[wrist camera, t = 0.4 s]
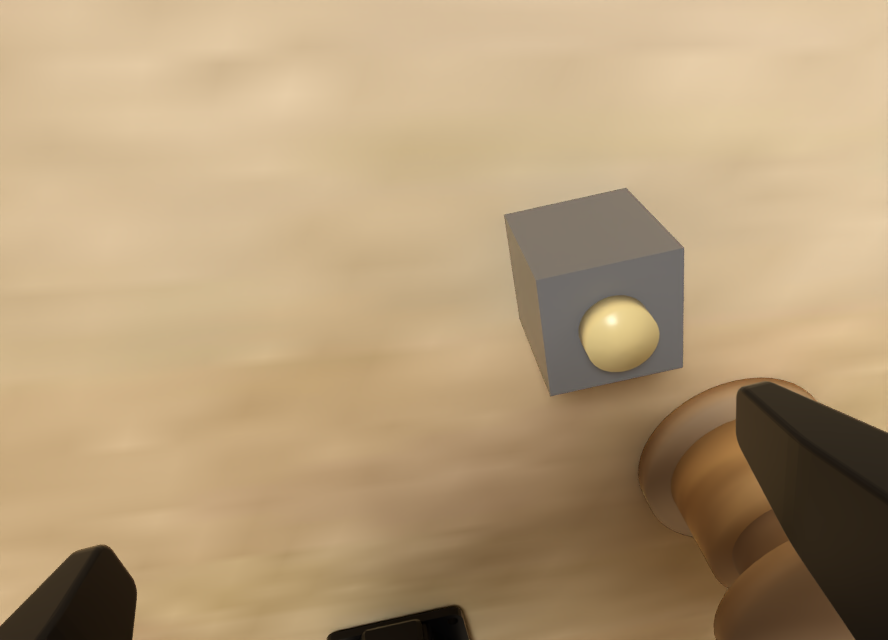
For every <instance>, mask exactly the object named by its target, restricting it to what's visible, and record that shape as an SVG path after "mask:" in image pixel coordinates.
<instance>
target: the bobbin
mask: <svg viewBox="0 0 888 640" xmlns="http://www.w3.org/2000/svg"><path fill="white" fill-rule="evenodd" d="M762 381H770V382H773V383H776V384H778V385H780V386H782V387H785V388H787V389H789V390H792V391H794V392H796V393H798V394H801V395H803V396H805V397H807V398H810V399H812V400H814V401H816V400H815V399H814V398H813V397H812V395H811V394H809V393H808V392H807V391H806V390H804V389H803V388H801V387H799V386H797V385H795V384H793V383H790V382H787V381H784V380H779V379H773V378H750V379H743V380H737V381H733V382H729V383H725V384H722V385H719V386H716V387H714V388H711V389H709V390H707V391H704V392H702V393H700V394H698V395H696V396H695V397H693V398H691V399H690V400H688V401H686V402H685V403H683V404H682V405H681V406H679V407H678V408H677V409H675V410H674V411H673V412H672V413H671V414H670V415H668V416H667V417H666V418H665V419H664V420H663V421H662V422H661V424H660V425H659V426H658V427H657V428H656V429H655V431H654V432H653V433H652V435H651V436H650V438H649V440H648V441H647V443H646V445H645V447H644V449H643V452H642V455H641V458H640V462H639V470H638V477H639V484H640V486H641V489H642V492H643V494H644V496H645V498H646V500H647V502H648V504H649V506H650V508H651V510H652V512H653V513H654V515H655V516H656V518H657V519H658V520H659V521H660V522H661V523H662V524H664V525H665V526H666V527H668V528H669V529H671V530H673V531H675V532H678V533H680V534H683V535H687V536H691V537H694V539H695V540H696V542H697V544H698V546H699V548H700V550H701V551H702V553H703V555H704V557H705V559H706V561H707V562H708V564H709V566H710V568H711V570H712V572H713V574H714V575H715V577H716V578H717V580H718V581H719V582H720V583H721V584H723V585H724V586H726V587H727V588H729V589H728V591H727V592H726V593H725V595H724V597H723V598H722V600H721V602H720V604H719V606H718V609H717V612H716V614H715V620H714V634H715V638H716V640H855V639H854V637H853V636H852V634H851V633H850V631H849V630H848V628H847V627H846V625H845V624H844V622H843V621H842V619H841V618H840V616H839V615H838V613H837V612H836V610H835V609H834V608H833V606H832V605H831V603H830V602H829V600H828V599H827V597H826V596H825V594H824V593H823V591H822V590H821V588H820V587H819V585H818V584H817V582H816V581H815V579H814V578H813V576H812V575H811V574H810V572H809V571H808V569H807V568H806V566H805V565H804V563H803V562H802V560H801V559H800V557H799V556H798V554H797V552H796V551H795V549H794V548H793V546H792V545H791V543H790V541H789V539H788V538H787V536H786V534H785V532H784V530H783V529H782V527H781V525H780V523H779V521H778V519H777V517H776V515H775V514H774V512H773V510H772V508H771V506H770V504H769V502H768V500H767V498H766V496H765V495H764V493H763V491H762V489H761V487H760V485H759V483H758V481H757V479H756V477H755V476H754V474H753V472H752V470H751V468H750V466H749V464H748V462H747V460H746V458H745V457H744V455H743V453H742V451H741V449H740V447H739V444H738V441H737V437H736V395H737V391H738V390H739V388H741V387H743V386H746V385H750V384H754V383H758V382H762Z"/></svg>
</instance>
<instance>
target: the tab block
mask: <svg viewBox="0 0 888 640" xmlns="http://www.w3.org/2000/svg"><path fill="white" fill-rule="evenodd" d="M504 217H505V224H506V231H507V238H508V244H509V251H510V258H511V265H512V271H513V278H514V285H515V292H516V299H517V305H518V312H519V318H520V321H521V324H522V326H523V329H524V331H525V334H526V336H527V339H528V341H529V344H530V346H531V349H532V351H533V354H534V356H535V359H536V361H537V364H538V366H539V369H540V371H541V374H542V376H543V379H544V381H545V384H546V386H547V389H548V391H549V394H550V396H554V395H559V394H563V393H568V392H573V391H577V390H582V389H586V388H591V387H595V386H600V385H605V384H609V383H614V382H618V381H623V380H627V379H632V378H637V377H641V376H646V375H650V374H655V373H660V372H664V371H669V370H673V369H678V368H682V367H683V302H684V247H683V246H682V245H681V244H680V243H679V242H678V241H677V240H676V239H675V238H674V237H673V236H672V235H671V234H670V233H669V232H668V231H667V230H666V229H665V228H664V227H663V226H662V225H661V223H660V222H659V221H658V220H657V219H656V218H655V217H654V216H653V215H652V214H651V213H650V212H649V211H648V210H647V209H646V208H645V207H644V206H643V205H642V204H641V203H640V202H639V201H638V200H637V199H636V198H635V197H634V196H633V195H632V194H631V192H630V191H629V190H628V189H627V188H624V189H619V190H615V191H610V192H605V193H601V194H596V195H592V196H587V197H583V198H578V199H574V200H569V201H565V202H560V203H556V204H551V205H546V206H542V207H537V208H533V209H528V210H524V211H519V212H515V213H510V214H506V215H504Z"/></svg>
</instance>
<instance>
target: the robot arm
mask: <svg viewBox="0 0 888 640" xmlns="http://www.w3.org/2000/svg"><path fill="white" fill-rule="evenodd" d="M736 437H737V441H738V444H739V447H740V449H741V451H742V453H743V455H744V457H745V458H746V460H747V462H748V464H749V466H750V468H751V470H752V472H753V474H754V476H755V477H756V479H757V481H758V483H759V485H760V487H761V489H762V491H763V493H764V495H765V496H766V498H767V500H768V502H769V504H770V506H771V508H772V510H773V512H774V514H775V515H776V517H777V519H778V521H779V523H780V525H781V527H782V529H783V530H784V532H785V534H786V536H787V538H788V539H789V541H790V543H791V545H792V546H793V548H794V549H795V551H796V552H797V554H798V556H799V557H800V559H801V560H802V562H803V563H804V565H805V566H806V568H807V569H808V571H809V572H810V574H811V575H812V576H813V578H814V579H815V581H816V582H817V584H818V585H819V587H820V588H821V590H822V591H823V593H824V594H825V596H826V597H827V599H828V600H829V602H830V603H831V605H832V606H833V608H834V609H835V610H836V612H837V613H838V615H839V616H840V618H841V619H842V621H843V622H844V624H845V625H846V627H847V628H848V630H849V631H850V633H851V634H852V636H853V637H854V639H855V640H888V433H887V432H885V431H883V430H880V429H878V428H876V427H874V426H871V425H869V424H867V423H864V422H862V421H860V420H858V419H855V418H853V417H851V416H849V415H846V414H844V413H842V412H839V411H837V410H835V409H833V408H830V407H828V406H826V405H823V404H821V403H819V402H817V401H814V400H812V399H810V398H807V397H805V396H803V395H801V394H798V393H796V392H794V391H792V390H789V389H787V388H785V387H782V386H780V385H778V384H776V383H773V382H770V381H762V382H758V383H754V384H750V385H746V386H743V387H741V388H739V390H738V391H737V395H736ZM136 601H137V590H136V585H135V582H134V580H133V578H132V577H131V575H130V574H129V573H128V571H127V570H126V568H125V567H124V566H123V564H122V563H121V561H120V560H119V559H118V557H117V556H116V554H115V553H114V552H113V550H112V549H111V548H110V547H108V546H106V545H97V546H93V547H89V548H85V549H81V550H78V551H75V552H74V553H72V554H71V555H70V556H69V557H68V558H67V559H66V560H65V561H64V562H63V563H62V564H61V565H60V566H59V567H58V568H57V569H56V570H55V571H54V572H53V573H52V574H51V575H50V576H49V577H48V578H47V579H46V580H45V581H44V582H43V583H42V585H41V586H40V587H39V588H38V589H37V590H36V591H35V592H34V593H33V594H32V595H31V596H30V597H29V598H28V599H27V600H26V601H25V602H24V603H23V604H22V605H21V606H20V607H19V608H18V609H17V610H16V611H15V612H14V613H13V614H12V615H11V616H10V617H9V618H8V619H7V620H6V621H5V622H4V623H3V624H2V625H1V626H0V640H132V637H133V628H134V619H135V610H136ZM327 640H470V638H469V634H468V631H467V627H466V624H465V620H464V617H463V613H462V611H461V609H459V608H457V607H449V608H444V609H440V610H435V611H431V612H426V613H421V614H417V615H412V616H408V617H403V618H399V619H394V620H390V621H385V622H381V623H376V624H372V625H367V626H362V627H358V628H353V629H349V630H344V631H340V632H335V633H332V634H330V635H329V636H328V637H327Z"/></svg>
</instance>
